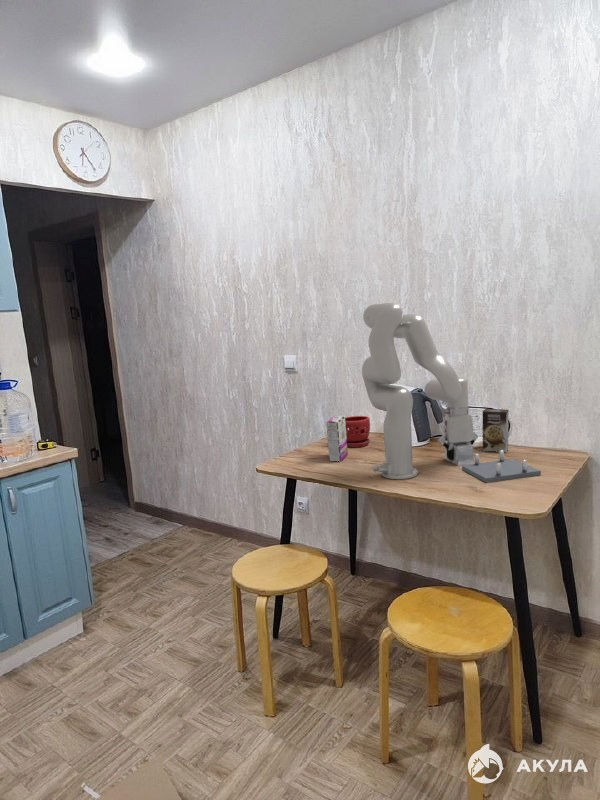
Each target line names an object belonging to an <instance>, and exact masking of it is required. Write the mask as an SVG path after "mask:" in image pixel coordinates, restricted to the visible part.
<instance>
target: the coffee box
mask: <svg viewBox="0 0 600 800" xmlns="http://www.w3.org/2000/svg"><path fill="white" fill-rule="evenodd" d="M509 412H510V411H509V409H503V408H502V409H501V408H496V409H495V408H484V409H483V410H482V451H483V452H488V451H496V452H495V453H499V450H504V452H506V453H507V452H508V451H507V450H509Z"/></svg>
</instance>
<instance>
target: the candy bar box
mask: <svg viewBox="0 0 600 800" xmlns="http://www.w3.org/2000/svg"><path fill="white" fill-rule="evenodd" d="M345 418H346V416H345V415H333V417H331V418H330V419H328V420H327V421H326V431H327V432H326V433H327V434H326V435H327V444H328V445H327V446H328V447H327V448H328V457H329V459H328V460H329V462H330V461H337V462H336V463H341V462H342V461H343V460H344V459H345V458H346V457H347V456H348V454H349V451H348V446H347V436H346V422H345ZM338 461H339V462H338Z"/></svg>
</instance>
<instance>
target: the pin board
mask: <svg viewBox="0 0 600 800" xmlns="http://www.w3.org/2000/svg"><path fill="white" fill-rule="evenodd" d="M496 463H501V476H496ZM461 470H462V471H463V472H465V473H467V474H469V475H470V476H472V477H475V478H477V479H479V480H480V481H482V482H484V483H486V484H487V483H494V482H501V481H508V480H516V479H523V478H529V477H536V476H537V477H538V476H542V475H541V474H542V471H541V469H537V468H535V467H532V465H529V464H527V472H522V461H519V460H517V459H515V458H510V459H504V462H499V460H494V461H487V462H480V465H475V463H473V464H468V465H461Z"/></svg>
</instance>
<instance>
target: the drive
mask: <svg viewBox="0 0 600 800" xmlns="http://www.w3.org/2000/svg"><path fill="white" fill-rule="evenodd" d="M444 442H445V443H447V441H446V440H444ZM473 445H474V444H473ZM473 445H471V444H469V443H466V442H460V443H453V446H452V450H453V460H452V461H451V460H449V459H448V458H447V449H446V448H445V447H444V459H445V460H446V461H448V462H450V463H452V464H454V465H456V466H457V467H460V466H461V467H462V466H463V465H471V464H474V446H473Z"/></svg>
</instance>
